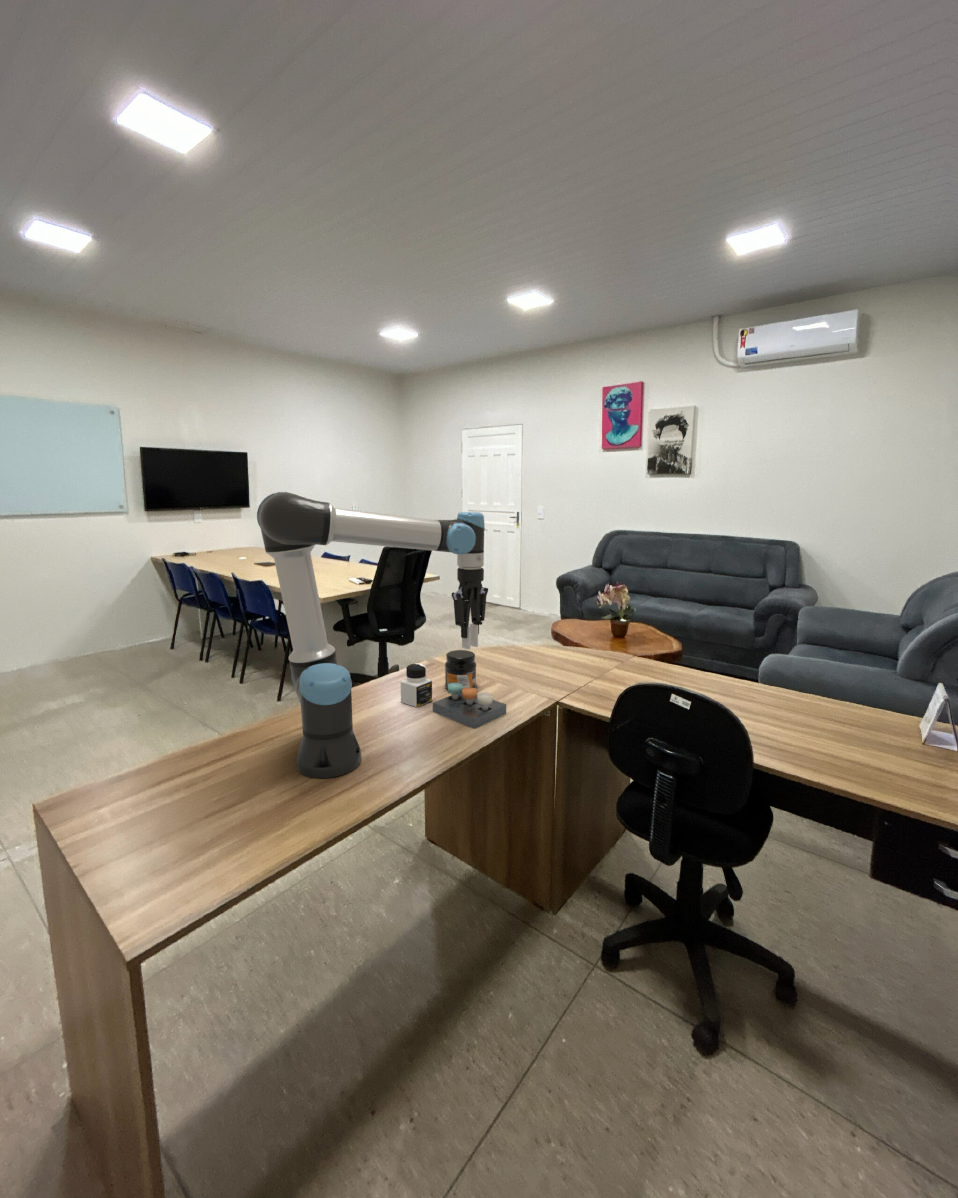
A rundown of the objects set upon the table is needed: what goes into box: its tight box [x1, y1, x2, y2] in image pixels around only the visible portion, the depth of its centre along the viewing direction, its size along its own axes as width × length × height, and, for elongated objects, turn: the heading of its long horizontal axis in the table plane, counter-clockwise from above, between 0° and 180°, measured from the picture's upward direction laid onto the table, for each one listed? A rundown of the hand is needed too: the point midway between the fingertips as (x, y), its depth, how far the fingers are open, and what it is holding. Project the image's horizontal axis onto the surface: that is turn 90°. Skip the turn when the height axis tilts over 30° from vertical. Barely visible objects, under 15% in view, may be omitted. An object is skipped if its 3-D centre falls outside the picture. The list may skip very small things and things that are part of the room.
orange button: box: [462, 687, 478, 706], centre depth 159 cm, size 4×4×5 cm
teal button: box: [447, 683, 462, 701], centre depth 163 cm, size 4×4×5 cm
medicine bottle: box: [400, 662, 433, 708], centre depth 167 cm, size 7×7×12 cm
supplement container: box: [444, 649, 477, 690], centre depth 179 cm, size 10×10×12 cm
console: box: [432, 693, 507, 729], centre depth 160 cm, size 14×17×3 cm
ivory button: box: [477, 692, 494, 712], centre depth 155 cm, size 4×4×5 cm
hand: (470, 647), depth 156 cm, fingers open, 3 cm apart
